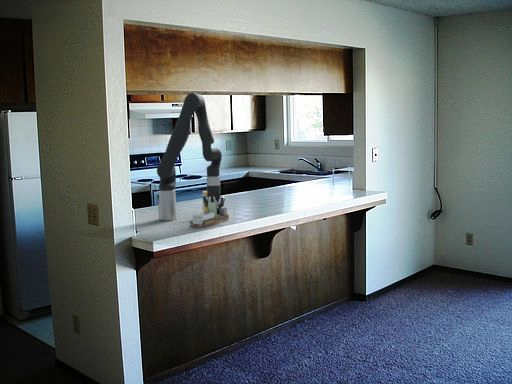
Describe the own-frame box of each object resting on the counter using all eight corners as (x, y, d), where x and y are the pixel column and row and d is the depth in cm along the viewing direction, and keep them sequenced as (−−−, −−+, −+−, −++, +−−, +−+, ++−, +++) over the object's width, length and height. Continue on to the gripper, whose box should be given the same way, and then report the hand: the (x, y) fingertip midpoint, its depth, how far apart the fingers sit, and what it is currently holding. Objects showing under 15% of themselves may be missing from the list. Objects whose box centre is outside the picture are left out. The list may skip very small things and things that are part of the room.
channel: (190, 226, 328) (189, 213, 327) (214, 218, 349) (213, 206, 348) (205, 227, 323) (204, 214, 322) (228, 219, 344) (228, 207, 343)
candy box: (216, 215, 358) (215, 189, 356) (219, 216, 355) (218, 190, 353) (202, 217, 354) (201, 191, 352) (206, 218, 350) (205, 192, 348)
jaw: (192, 223, 327) (192, 214, 326) (205, 219, 337) (204, 211, 337) (202, 224, 324) (202, 215, 323) (214, 220, 334) (214, 212, 334)
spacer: (209, 218, 339) (208, 202, 338) (213, 216, 343) (212, 200, 342) (215, 218, 337) (215, 202, 336) (220, 217, 341) (219, 201, 340)
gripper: (199, 184, 338) (200, 214, 340) (220, 185, 331) (221, 216, 333) (206, 182, 344) (207, 212, 346) (227, 183, 337) (228, 214, 340)
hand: (214, 214), depth 340 cm, fingers closed on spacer, 4 cm apart
